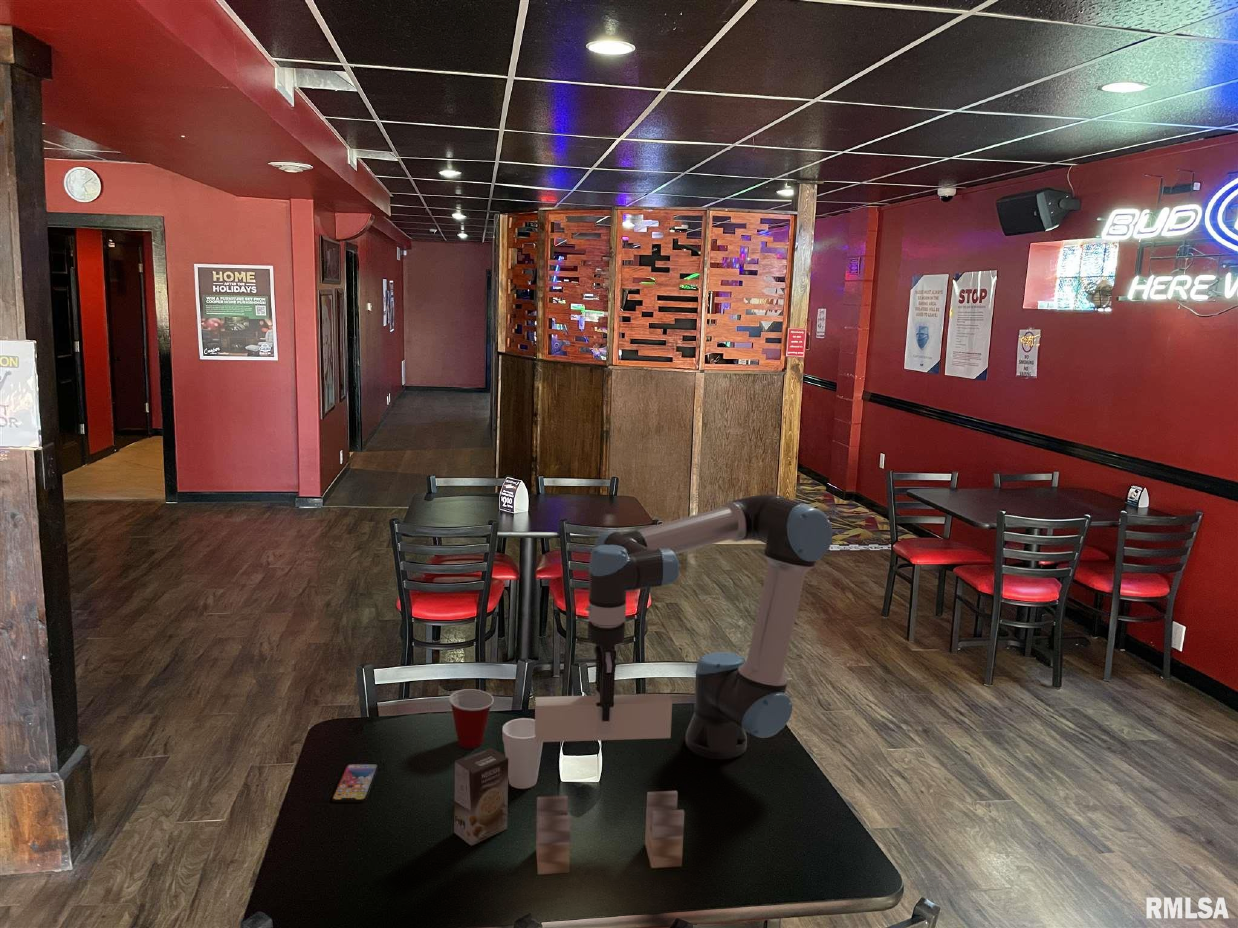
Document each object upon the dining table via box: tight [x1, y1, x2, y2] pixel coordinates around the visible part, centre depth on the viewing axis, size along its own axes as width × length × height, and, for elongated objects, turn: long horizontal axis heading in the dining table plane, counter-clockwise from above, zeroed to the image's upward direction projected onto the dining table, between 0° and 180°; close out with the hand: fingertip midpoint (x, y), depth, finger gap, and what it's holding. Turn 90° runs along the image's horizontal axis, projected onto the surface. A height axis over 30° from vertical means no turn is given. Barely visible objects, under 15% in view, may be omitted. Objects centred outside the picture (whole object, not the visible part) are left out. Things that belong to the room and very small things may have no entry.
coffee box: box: [453, 747, 509, 846], centre depth 181 cm, size 9×6×16 cm
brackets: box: [535, 790, 685, 875], centre depth 174 cm, size 28×8×12 cm, turn 98°
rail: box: [534, 693, 673, 743], centre depth 184 cm, size 28×4×8 cm, turn 97°
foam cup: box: [502, 717, 544, 790], centre depth 200 cm, size 10×9×13 cm
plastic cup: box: [448, 688, 495, 750], centre depth 216 cm, size 11×11×12 cm
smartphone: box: [331, 763, 379, 804], centre depth 199 cm, size 7×1×15 cm
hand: (603, 727), depth 185 cm, fingers closed on rail, 4 cm apart
